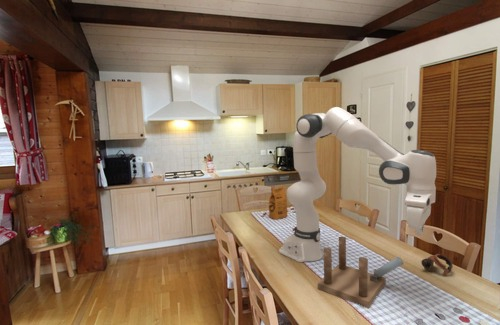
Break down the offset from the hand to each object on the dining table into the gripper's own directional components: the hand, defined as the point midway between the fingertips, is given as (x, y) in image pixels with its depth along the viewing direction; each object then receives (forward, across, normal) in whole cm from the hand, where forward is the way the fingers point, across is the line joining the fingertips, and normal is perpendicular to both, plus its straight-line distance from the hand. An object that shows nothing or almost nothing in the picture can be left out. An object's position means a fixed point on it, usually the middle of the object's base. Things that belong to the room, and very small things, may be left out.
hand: (419, 233), depth 101 cm
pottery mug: (+25, -26, +2) cm, 36 cm away
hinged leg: (+21, 0, -15) cm, 26 cm away
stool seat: (+25, +7, -22) cm, 34 cm away
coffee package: (+25, -47, -98) cm, 112 cm away
